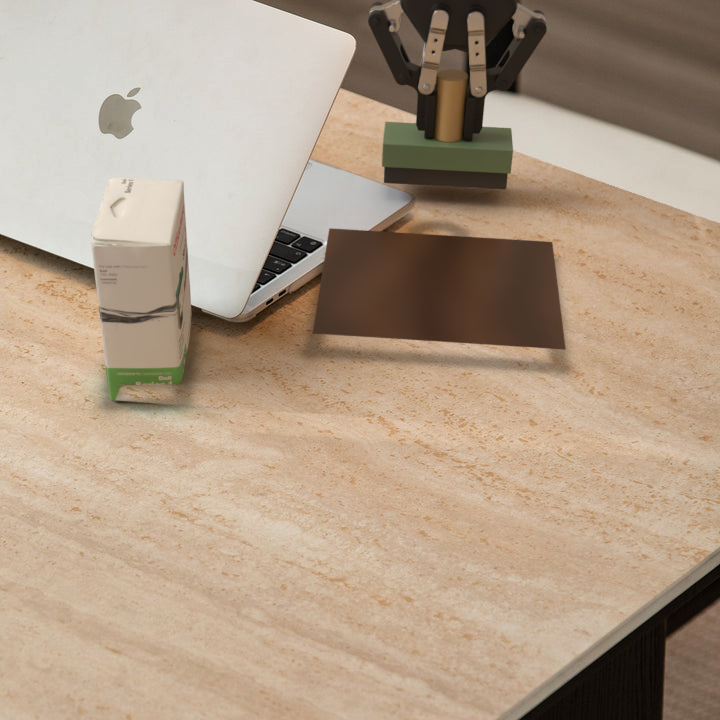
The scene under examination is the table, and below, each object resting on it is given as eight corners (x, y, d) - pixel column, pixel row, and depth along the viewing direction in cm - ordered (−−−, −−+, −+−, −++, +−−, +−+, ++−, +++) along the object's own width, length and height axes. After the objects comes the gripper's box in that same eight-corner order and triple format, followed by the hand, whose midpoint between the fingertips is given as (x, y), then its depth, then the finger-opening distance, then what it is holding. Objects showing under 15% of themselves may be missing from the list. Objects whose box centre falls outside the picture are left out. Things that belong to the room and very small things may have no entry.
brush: (507, 167, 100) (517, 67, 95) (508, 191, 97) (519, 89, 92) (383, 161, 101) (387, 61, 96) (381, 184, 97) (385, 82, 92)
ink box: (183, 403, 79) (173, 244, 72) (105, 402, 79) (87, 243, 72) (194, 326, 86) (186, 174, 79) (122, 325, 86) (108, 173, 79)
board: (549, 258, 95) (552, 241, 94) (562, 366, 84) (565, 348, 83) (328, 244, 96) (329, 227, 95) (312, 351, 84) (312, 332, 84)
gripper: (362, -81, 84) (356, 152, 94) (569, -71, 83) (540, 162, 93) (369, -112, 90) (362, 110, 100) (562, -103, 89) (535, 119, 100)
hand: (448, 134), depth 97 cm, fingers closed on brush, 2 cm apart
